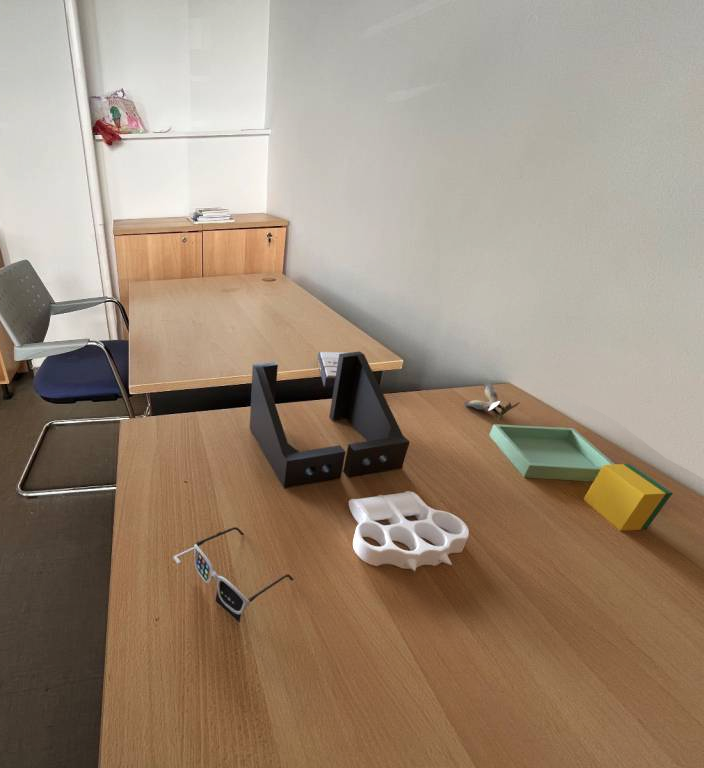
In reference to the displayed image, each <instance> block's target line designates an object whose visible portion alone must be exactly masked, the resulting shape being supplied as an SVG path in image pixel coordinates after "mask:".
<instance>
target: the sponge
mask: <svg viewBox="0 0 704 768" xmlns="http://www.w3.org/2000/svg"><path fill="white" fill-rule="evenodd" d="M614 464H615V463H614ZM672 495H673V492H672V491H670V490H669V489H667V488H666V487H665V486H664V485H663V486H662V485H661V484H660V483H658V482H657V481H656V480H654V479H653V478H651V477H650V476H648V475H646V474H645V473H644V472H643V471H640V470H639V469H638V468H636V467H635V466H633V465H632V464H630V463H617V464H615V465H603V467H602V468H601V470H600V472H599V473H598V475H597V477H596V478H595V480H594V482H592V484H591V485H590V487H589V489H588V490H587V493H586V494H585V495H584V498H583V501H584V502H585V503H586V504H587V505H589V506H590V507H591V508H592V509H593V510H594V511H596V512H597V513H598V514H599V515H601V516H602V517H603V518H604V519H605V520H607V521H608V522H609V523H610V524H611V525H612V526H613V527H614V528H616V530H619V532H621V531H623V532H624V531H641V530H647V529H648V528H649V527H650V525H651V524H652V523H653V521H654V520H655V518H656V517H657V516H658V514H659V513H660V512H661V510H662V509H663V507H664V506H665V504H666V503H667V502H668V501H669V499H670V498H671V496H672Z"/></svg>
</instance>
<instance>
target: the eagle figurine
mask: <svg viewBox="0 0 704 768" xmlns="http://www.w3.org/2000/svg"><path fill="white" fill-rule="evenodd" d="M483 388H484V389H483V390H484V394H485V397H486V399H488V400H487V401H483V400H479V399H475V400H471V401H470V400H468V401H465V402H464V406H466V407H472V408H475V409H476V410H481V411H482V410H484V409H488V410H487V412H489V411H492V412H493V413H494V414H495V415H497V421H500V420H501V419H502V417H504V416H505V415H506V414H507V413H508V412H509V411H510V410H512V409H514V408H515V407H517V406H518V405H519V404H520V403H521V402H520V401H518V402H516V403H514V404H512V403H511V402H510V401H509V402H508V403H507V404H506V405H505V406H503V405H502V404H501V401H500V400H498V399H499V397H498V394H497V392H496V391H495V390H494V388H493V383H492V382H491V381H486V382H485V383H484V384H483ZM497 408H498V409H501V411H500V412H499V411H498V409H497Z"/></svg>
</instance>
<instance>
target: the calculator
mask: <svg viewBox="0 0 704 768" xmlns="http://www.w3.org/2000/svg"><path fill="white" fill-rule="evenodd" d="M343 353H344V352H336V351H335V352H333V351H320V352H319V351H318V354H317V355H318V356H317V360H319V363H320V366H321V373H320V377H321V380H322V384H323V387H324V388H333V389H334V384H335V378H336V371H337V365H338V359H339V354H343Z"/></svg>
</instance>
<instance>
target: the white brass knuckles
mask: <svg viewBox="0 0 704 768" xmlns="http://www.w3.org/2000/svg"><path fill="white" fill-rule="evenodd" d="M348 508H349V511H350V513H351V514H352V517H353V518H354V520H355V521H356V522H357V526H356V528H355V532H354V535H353V540H352V548H353V551H354V553H355V554H356V556H357V557H359V559H361V561H362V562H364V563H366V564H368V565H371V566H372V567H373V566H374V567H379V566H381V565H391V566H395V567H398V568H400V569H403V570H404V569H405V570H412V571H414V572H416V570H417V569H418V568H419V567H421V566H433V567H436V566H438V565H440V564H441V563H444V564H447V565H450V566H453V564H452V562H451V559H450V558H449V555H450V554H455V553H456V554H461V553H462V552H463V550H464V549H465V545H466V543H467V541H468V539H469V537H470V530H469V528H468V526H467V524H466V523H465V522H464V521H463V520H462V519H461V518H460V517H459V516H456V515H454V514H453V513H450V512H448V511H444V510H439V509H435V508H432V507H430V506H429V505H427V504H426V503H425V502H424V500H422V498H421V497H420V496H419V495H418V494H417V493H416V492H414V491H410V490H407V491H404V492H398V493H391V494H384V495H383V494H378V495H377V496H370V497H369V496H368V497H361V498H350V499H349V500H348ZM411 516H414V517H415V518H416V520H408V519H407V518H406V517H411ZM384 520H386V521H387V522H388V523H389V524H386V525H384V524H381V523H380V522H378V521H384ZM364 538H369V539H373V540H374V541H376V542H377V543H378V544H379V545H380V546H377V545H376V546H375V545H372V544H370V543H369V542H367V541H366V540H364ZM424 539H425V540H427V541H429V542H430V543H432V544H430V543H428V542H427V541H425V540H424ZM394 542H399V543H401V544H403V545H405V546H406V547H407V548H408V549H409V550H405V549H403V548H400V547H399V546H397V545H396V544H395V543H394Z"/></svg>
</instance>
